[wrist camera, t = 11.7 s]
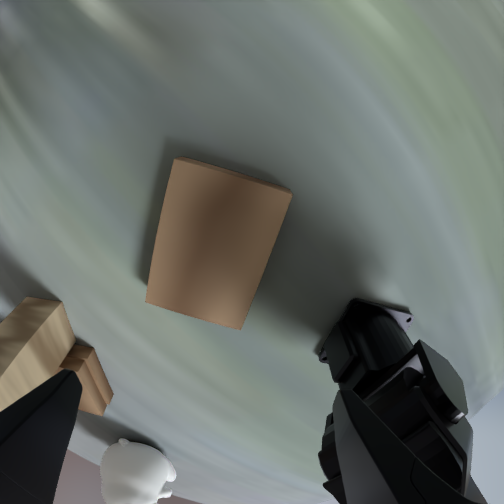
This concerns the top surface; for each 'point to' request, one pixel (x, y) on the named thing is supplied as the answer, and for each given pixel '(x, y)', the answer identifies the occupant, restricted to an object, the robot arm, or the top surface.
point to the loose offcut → (214, 241)
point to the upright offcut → (32, 346)
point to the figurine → (135, 474)
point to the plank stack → (89, 379)
